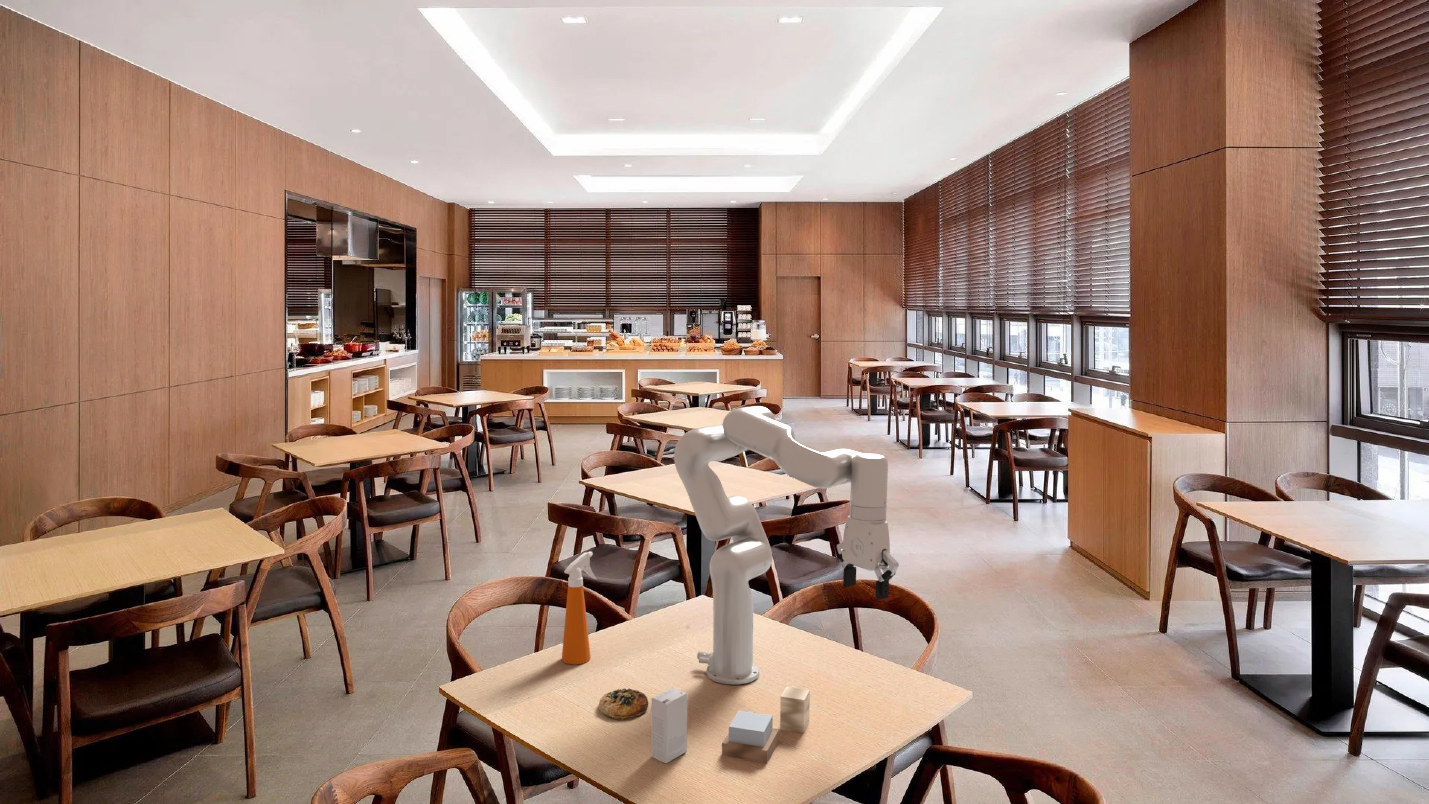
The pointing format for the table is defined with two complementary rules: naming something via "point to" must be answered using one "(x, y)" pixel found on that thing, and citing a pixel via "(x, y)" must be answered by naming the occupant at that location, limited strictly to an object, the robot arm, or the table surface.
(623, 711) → the bread roll
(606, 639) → the table surface
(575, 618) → the spray bottle
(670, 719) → the skincare box
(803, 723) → the beech block
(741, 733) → the grey slab
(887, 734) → the table surface
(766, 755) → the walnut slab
